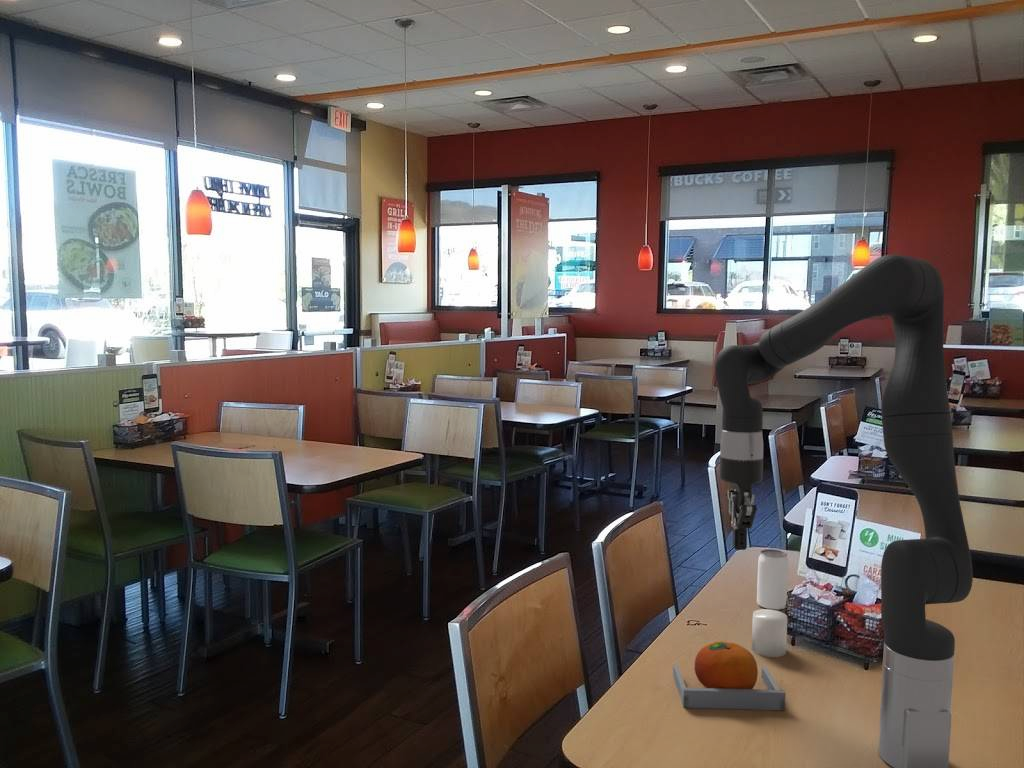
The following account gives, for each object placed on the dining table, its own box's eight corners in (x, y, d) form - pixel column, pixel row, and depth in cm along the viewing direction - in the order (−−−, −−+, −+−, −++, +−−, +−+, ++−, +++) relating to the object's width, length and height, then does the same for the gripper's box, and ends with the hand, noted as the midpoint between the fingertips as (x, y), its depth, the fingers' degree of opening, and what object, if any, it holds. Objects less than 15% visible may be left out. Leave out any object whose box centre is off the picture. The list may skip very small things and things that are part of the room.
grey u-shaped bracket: (784, 710, 137) (785, 692, 136) (683, 707, 137) (684, 690, 137) (765, 677, 149) (766, 661, 148) (673, 675, 149) (673, 659, 149)
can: (756, 608, 182) (758, 555, 181) (756, 598, 188) (758, 547, 187) (787, 612, 180) (789, 558, 179) (786, 601, 186) (788, 550, 185)
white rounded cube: (790, 657, 157) (791, 622, 156) (756, 656, 157) (757, 621, 157) (780, 643, 163) (782, 609, 163) (748, 642, 164) (749, 608, 163)
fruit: (763, 686, 145) (765, 642, 144) (748, 711, 136) (749, 665, 135) (704, 672, 151) (705, 630, 150) (685, 695, 142) (687, 650, 141)
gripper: (773, 461, 143) (770, 559, 144) (752, 449, 156) (750, 539, 157) (729, 461, 143) (727, 559, 144) (712, 449, 156) (710, 539, 158)
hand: (739, 548), depth 151 cm, fingers closed
